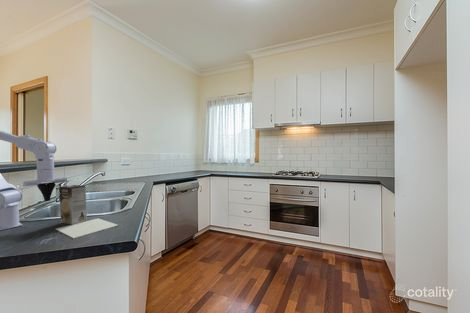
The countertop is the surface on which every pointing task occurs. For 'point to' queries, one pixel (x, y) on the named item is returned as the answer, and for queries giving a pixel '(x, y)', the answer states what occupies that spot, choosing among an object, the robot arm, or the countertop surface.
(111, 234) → the countertop surface
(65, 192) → the coffee box
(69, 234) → the mat
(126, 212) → the countertop surface
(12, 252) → the countertop surface
